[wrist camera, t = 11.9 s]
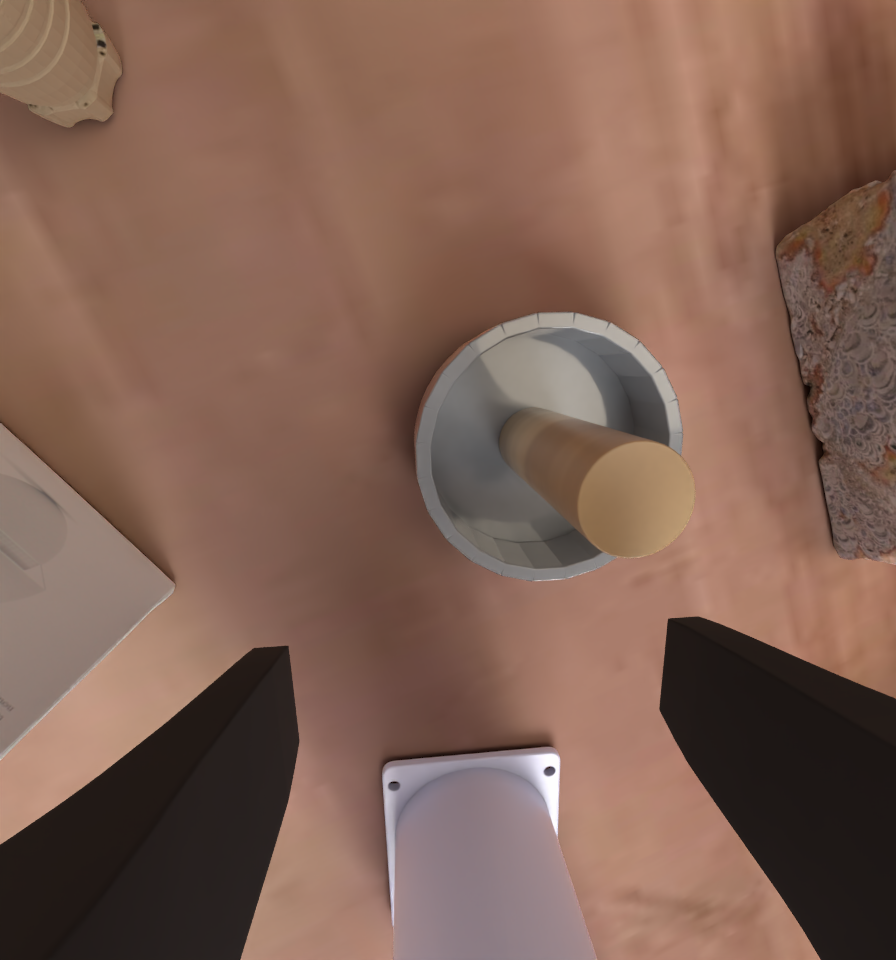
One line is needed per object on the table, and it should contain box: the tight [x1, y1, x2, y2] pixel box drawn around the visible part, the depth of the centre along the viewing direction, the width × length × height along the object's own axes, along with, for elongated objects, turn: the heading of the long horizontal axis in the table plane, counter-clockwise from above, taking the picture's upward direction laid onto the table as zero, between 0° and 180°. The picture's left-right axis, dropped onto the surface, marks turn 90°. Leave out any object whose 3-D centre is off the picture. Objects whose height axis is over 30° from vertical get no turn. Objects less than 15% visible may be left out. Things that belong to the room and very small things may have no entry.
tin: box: [414, 312, 683, 581], centre depth 17 cm, size 9×9×3 cm
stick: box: [499, 407, 695, 558], centre depth 14 cm, size 3×3×8 cm
